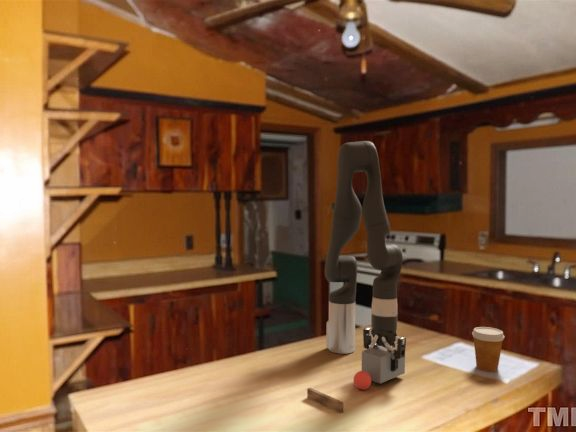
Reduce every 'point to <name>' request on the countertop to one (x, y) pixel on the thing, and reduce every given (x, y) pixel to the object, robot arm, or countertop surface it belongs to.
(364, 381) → the ball
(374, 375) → the grey rectangular block
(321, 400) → the stopper
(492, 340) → the disposable coffee cup
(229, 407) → the countertop surface
